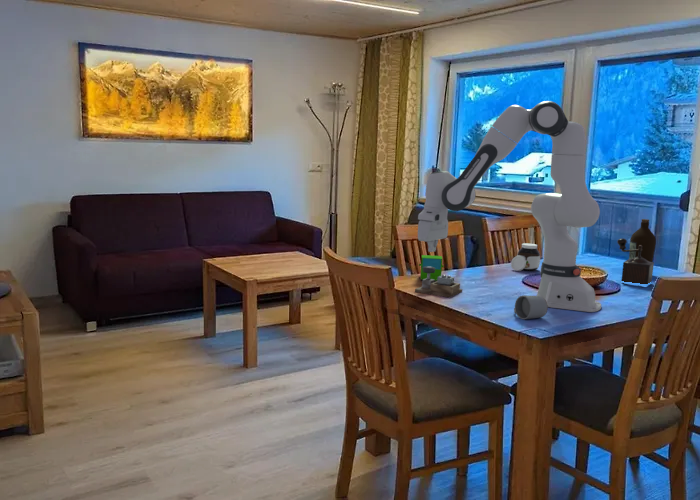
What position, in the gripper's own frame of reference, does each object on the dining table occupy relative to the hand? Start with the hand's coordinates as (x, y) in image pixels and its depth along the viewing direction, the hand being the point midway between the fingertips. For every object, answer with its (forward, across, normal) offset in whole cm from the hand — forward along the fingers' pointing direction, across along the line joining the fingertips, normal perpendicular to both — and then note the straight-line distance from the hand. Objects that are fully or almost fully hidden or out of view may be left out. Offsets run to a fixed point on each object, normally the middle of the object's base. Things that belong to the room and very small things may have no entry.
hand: (431, 251), depth 238 cm
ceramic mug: (+15, +13, +41) cm, 46 cm away
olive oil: (+10, -94, +62) cm, 113 cm away
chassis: (+15, -1, +4) cm, 15 cm away
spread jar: (+12, -67, +18) cm, 70 cm away
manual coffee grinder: (+11, -71, +61) cm, 94 cm away
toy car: (+15, -20, -8) cm, 26 cm away
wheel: (+11, -1, -1) cm, 11 cm away
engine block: (+14, -1, +6) cm, 15 cm away
